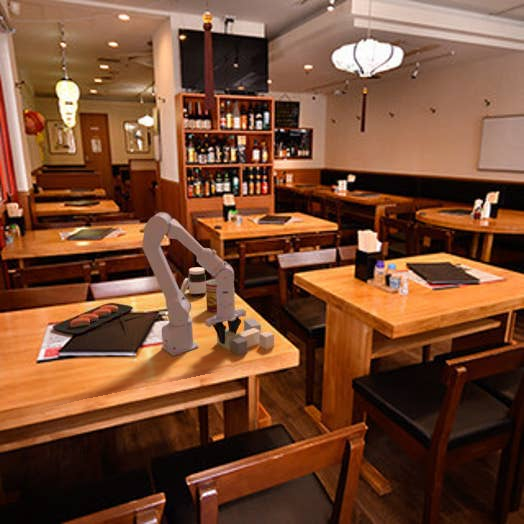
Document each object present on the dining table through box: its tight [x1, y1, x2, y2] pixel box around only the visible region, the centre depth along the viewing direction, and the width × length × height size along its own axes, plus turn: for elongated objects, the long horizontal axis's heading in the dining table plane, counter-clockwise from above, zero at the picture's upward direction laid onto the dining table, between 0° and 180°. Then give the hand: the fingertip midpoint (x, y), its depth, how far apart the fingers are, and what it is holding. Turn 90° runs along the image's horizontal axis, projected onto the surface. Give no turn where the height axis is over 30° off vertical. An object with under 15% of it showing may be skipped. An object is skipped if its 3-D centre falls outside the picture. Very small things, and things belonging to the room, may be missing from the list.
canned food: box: [205, 278, 217, 314], centre depth 166 cm, size 8×8×12 cm
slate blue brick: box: [243, 317, 262, 333], centre depth 145 cm, size 7×3×4 cm, turn 24°
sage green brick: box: [216, 328, 237, 351], centre depth 136 cm, size 7×3×4 cm, turn 39°
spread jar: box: [180, 266, 207, 298], centre depth 186 cm, size 12×11×12 cm
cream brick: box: [236, 328, 260, 349], centre depth 136 cm, size 7×3×4 cm, turn 129°
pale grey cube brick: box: [259, 330, 275, 350], centre depth 135 cm, size 3×3×4 cm
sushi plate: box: [52, 302, 149, 337], centre depth 156 cm, size 29×30×4 cm
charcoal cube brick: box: [232, 337, 248, 357], centre depth 130 cm, size 3×3×4 cm
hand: (227, 341), depth 136 cm, fingers closed on sage green brick, 3 cm apart
